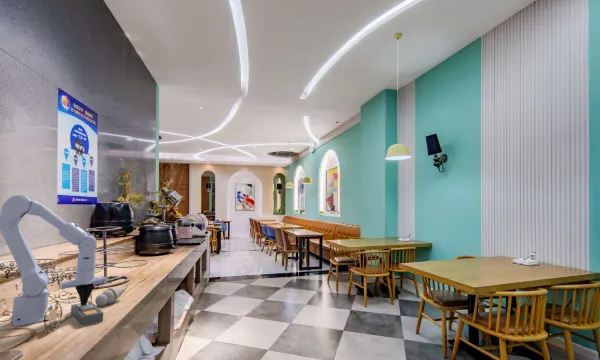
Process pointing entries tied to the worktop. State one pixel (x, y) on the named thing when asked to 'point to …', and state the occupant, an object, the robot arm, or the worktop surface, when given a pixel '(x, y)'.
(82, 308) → the grey key
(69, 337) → the worktop surface
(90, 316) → the grey compartment tray
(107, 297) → the ice cream cone
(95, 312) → the amber key
